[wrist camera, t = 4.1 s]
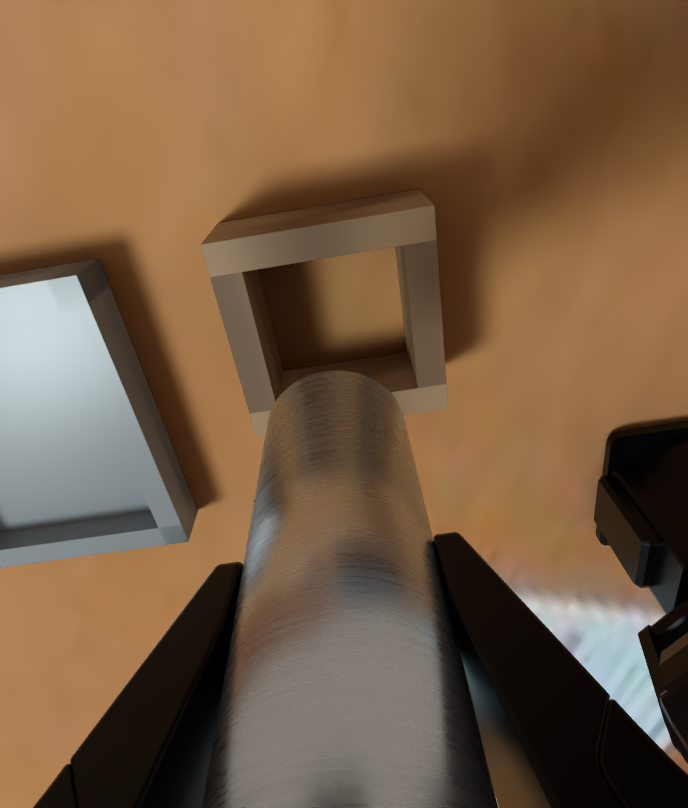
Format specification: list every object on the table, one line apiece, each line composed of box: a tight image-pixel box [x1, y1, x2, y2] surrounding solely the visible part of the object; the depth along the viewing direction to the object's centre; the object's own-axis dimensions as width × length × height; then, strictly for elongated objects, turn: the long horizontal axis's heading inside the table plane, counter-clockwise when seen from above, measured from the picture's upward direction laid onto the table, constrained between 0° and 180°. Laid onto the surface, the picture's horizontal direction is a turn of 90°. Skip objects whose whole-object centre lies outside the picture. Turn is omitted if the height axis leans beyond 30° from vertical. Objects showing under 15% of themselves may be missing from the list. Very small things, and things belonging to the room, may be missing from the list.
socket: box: [201, 189, 448, 437], centre depth 19 cm, size 7×7×3 cm
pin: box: [202, 371, 498, 808], centre depth 8 cm, size 3×3×10 cm
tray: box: [0, 259, 198, 568], centre depth 21 cm, size 10×12×2 cm
